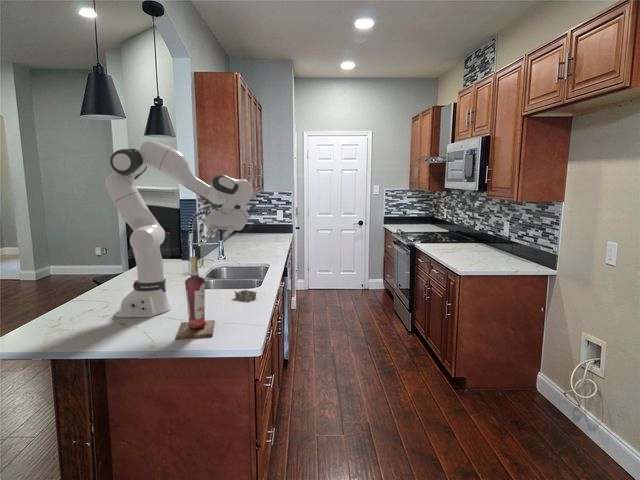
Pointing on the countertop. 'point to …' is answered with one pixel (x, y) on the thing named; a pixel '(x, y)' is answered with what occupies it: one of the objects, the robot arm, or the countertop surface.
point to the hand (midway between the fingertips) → (216, 235)
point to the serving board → (195, 330)
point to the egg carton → (245, 295)
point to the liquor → (195, 297)
